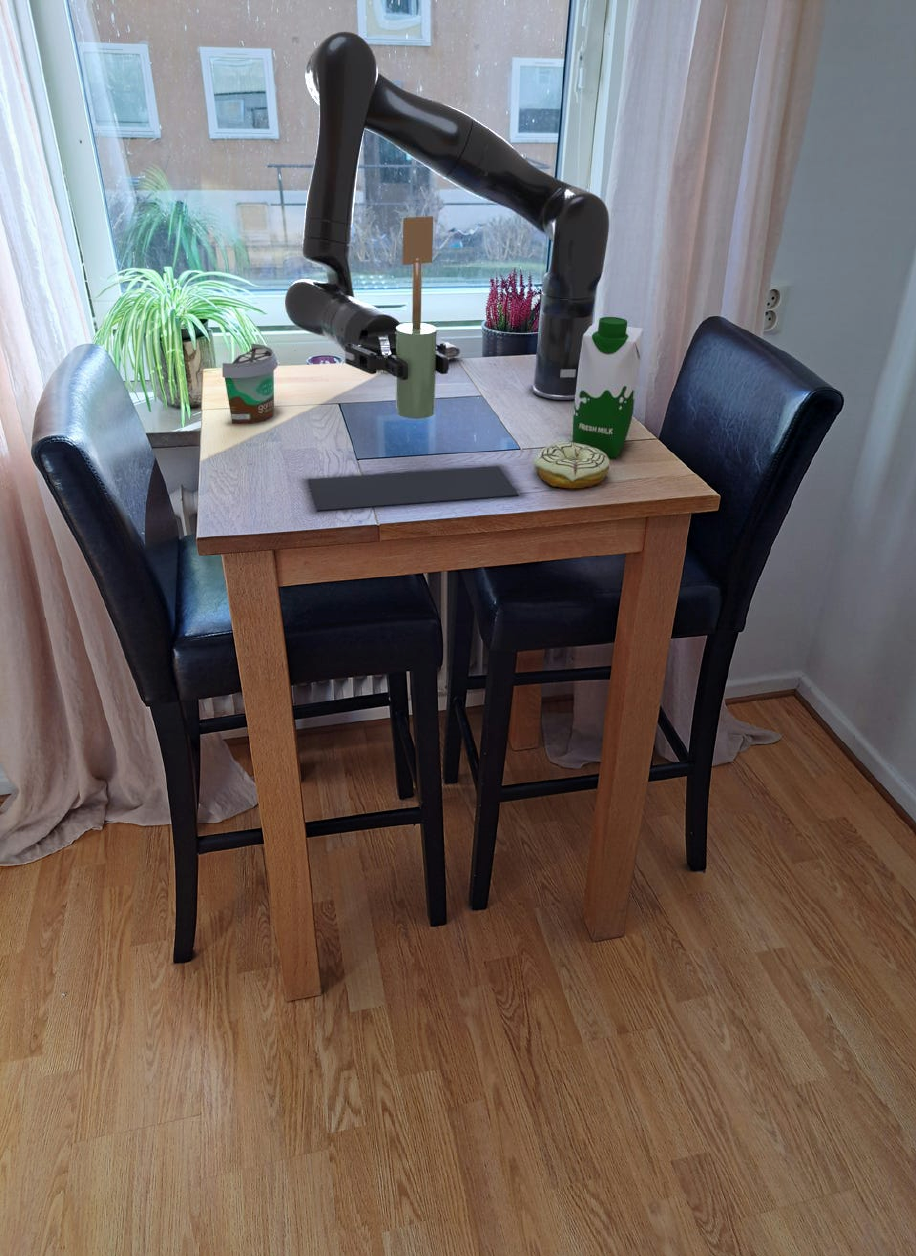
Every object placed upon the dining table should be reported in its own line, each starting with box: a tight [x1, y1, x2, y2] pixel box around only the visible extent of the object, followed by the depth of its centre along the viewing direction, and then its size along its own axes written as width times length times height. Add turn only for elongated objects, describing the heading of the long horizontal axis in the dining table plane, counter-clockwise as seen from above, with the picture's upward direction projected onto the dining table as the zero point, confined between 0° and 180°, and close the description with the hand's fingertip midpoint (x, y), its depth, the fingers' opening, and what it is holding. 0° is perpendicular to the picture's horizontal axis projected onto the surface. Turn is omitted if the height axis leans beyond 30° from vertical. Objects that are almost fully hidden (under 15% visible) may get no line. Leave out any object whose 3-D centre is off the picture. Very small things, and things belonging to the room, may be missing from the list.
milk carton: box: [572, 316, 644, 460], centre depth 134 cm, size 9×9×20 cm
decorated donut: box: [533, 441, 611, 489], centre depth 128 cm, size 10×11×4 cm
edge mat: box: [307, 465, 520, 512], centre depth 124 cm, size 28×10×1 cm, turn 104°
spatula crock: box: [395, 215, 438, 419], centre depth 112 cm, size 5×5×24 cm
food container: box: [221, 342, 279, 425], centre depth 143 cm, size 12×6×10 cm, turn 168°
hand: (425, 369), depth 113 cm, fingers closed on spatula crock, 5 cm apart
